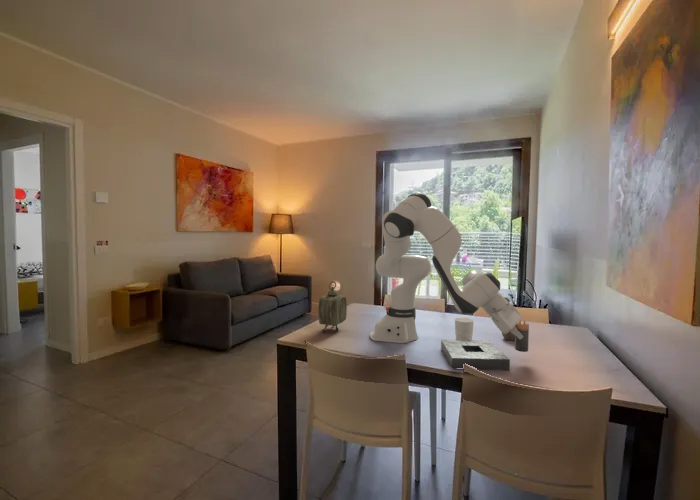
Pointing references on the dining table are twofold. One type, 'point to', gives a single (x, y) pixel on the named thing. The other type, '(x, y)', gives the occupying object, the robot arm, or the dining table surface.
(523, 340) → the plug
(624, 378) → the dining table surface
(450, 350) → the socket block
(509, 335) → the brown textured egg shape
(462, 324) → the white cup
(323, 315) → the tabletop clock
